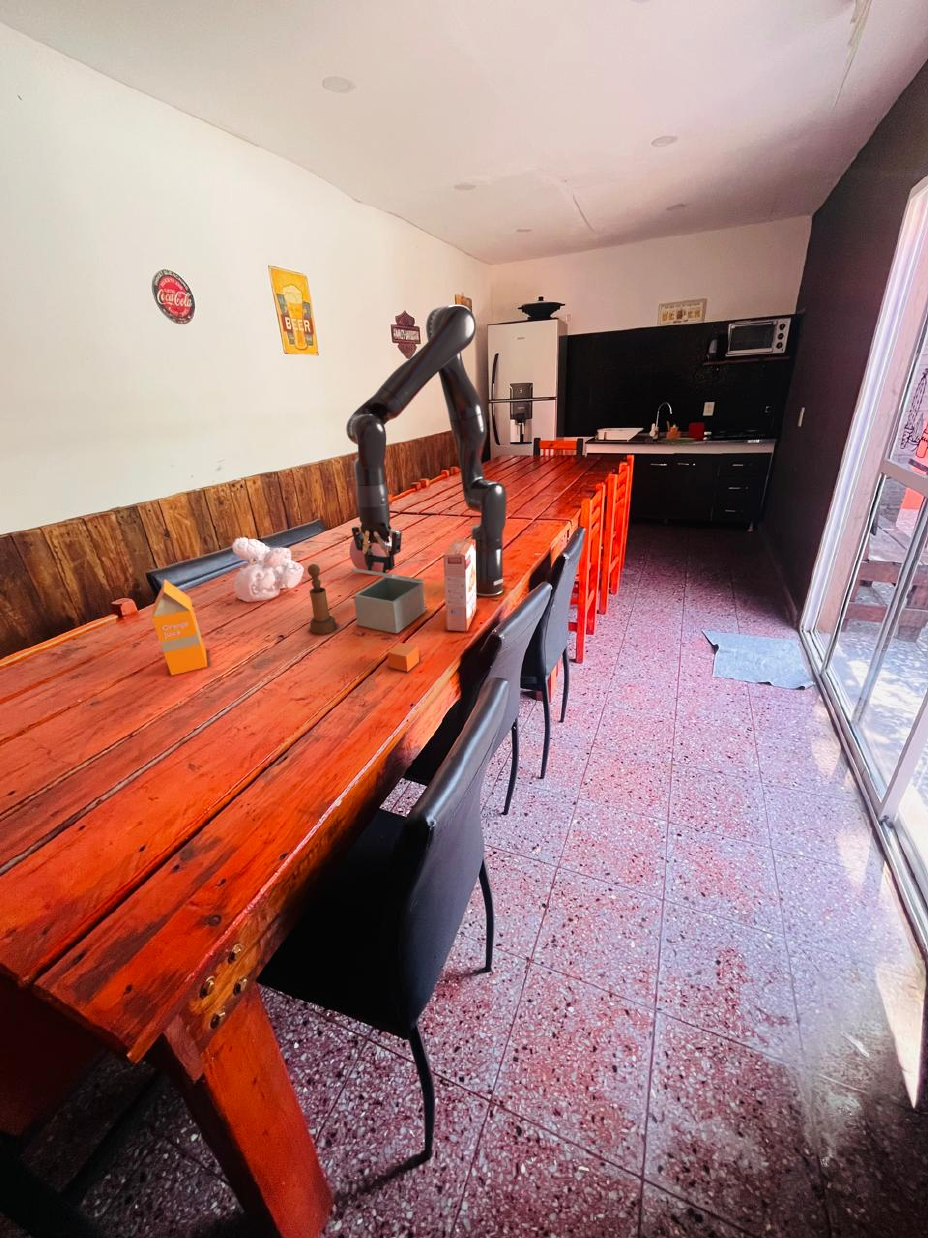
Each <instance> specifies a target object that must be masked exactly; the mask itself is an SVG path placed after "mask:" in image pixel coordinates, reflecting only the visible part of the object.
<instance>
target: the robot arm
mask: <svg viewBox="0 0 928 1238" xmlns="http://www.w3.org/2000/svg"><path fill="white" fill-rule="evenodd" d="M425 322H426V324H425V332H426V339H427V342H426V343H425V345H423V347H422V348H420V349H419V350H418V351H417V352H416V353H415V354H413V355H412V356H411V357H409V358H408V359H407V360H406V361H405V362H403V363H402V364H401V365H399V367H397V368H396V369H395V370H394V371H393V372H392V373H391V374H390V375H389V376H388V377H387V379H385V381H384V382H383V383H382V384H381V385H380V387H379V388H378V389H377V391H376V392H375V393H374V394H373V395H372V396H371V397H370V398H368V399H367V400H366V401H365V402H364V403H362V405H360V406H359V407H358V408H357V409H356V410H355V411H354V412H353V413H352V414H351V415H350V417H349V418H348V420H347V422H346V427H345V432H346V435H347V437H348V439H349V441H351V442H352V443H353V444H356V445H357V459H355V461H354V475H355V483H356V484H355V485H356V491H355V492H356V502H357V510H358V511H357V512H358V518H359V522H360V523H361V525H356V526H353V527H351V532H352V537H353V539H354V541H355V544H356V548H357V550H361V551H362V552H363V553H364V557H365V564H366V565H367V567H368V566H369V561H368V556H369V555H370V554H371V555H373V552H371V550H372V547H373V544H374V543H377V544H379V545H380V547H381V549H383V551H384V553H385V555H386V557H385V559H386V569H387V571H392V570H393V569H394V568H395V565H396V564H395V561H394V555H395V554H396V555H397V554H400V553H401V551H402V535H403V532H402V530H401V529H397V530H396V529H393V528H392V527H391V524H390V522H391V511H390V502H389V501H390V499H389V492H388V491H389V490H388V487H387V486H388V485H387V480H386V469H385V459H386V451H387V450H386V449H387V431H386V427H385V425H386V424H387V423H389V421H392V420H394V419H396V418H398V417H399V416H400V415H401V414H402V412H404V411H405V410H406V408H407V407H408V406H409V405H410V403H411V402H412V401H413V400H414V399H415V397H416V396H417V395H418V394H419V393H420V392H421V390H423V388H424V387H425V386H426V385H427V384H428V383H429V382H430V381H431V380H432V379H433V378H434V376H436V375H437V374H438V376H439V380H440V385H441V388H442V389H441V390H442V393H443V397H444V401H445V405H446V410H447V415H448V420H449V425H450V429H451V433H452V436H453V441H454V445H455V449H456V455H457V460H458V463H459V464H458V465H459V470H460V476H461V477H460V478H461V485H462V492H463V499H464V502H465V505H466V507H467V508H468V509H469V510H471V511H473V512H475V513H479V514H480V523H478V524H475V525H473V526H471V529H470V539H474V540H476V596H478V597H485V598H488V597H489V598H490V597H496V596H499V595H501V594H502V593H503V592H504V577H503V576H504V530H505V527H506V522H507V521H506V520H507V505H508V504H507V503H508V502H507V501H508V499H507V498H508V497H507V496H508V495H507V491H506V488H505V486H504V485H503V484H502V483H500V482H498V481H494V480H488V479H486V478H485V473H484V468H483V464H482V456H483V452H484V448H485V444H486V440H487V437H488V425H487V419H486V413H485V407H484V404H483V401H482V399H481V398H480V395H479V393H478V391H477V389H476V388H475V386H474V384H473V383H472V380H471V379H470V377H469V375H468V373H467V371H466V368H465V365H464V361H463V355H462V352H463V351H464V350H465V349H466V348H468V347H469V346H470V344H472V341H473V339H474V337H475V334H476V330H477V329H476V328H477V324H476V318H475V315H474V313H472V311H471V310H470V308H468V307H467V306H465V305H462V304H450V305H445V306H440V307H437V308H436V307H435V308H434V309H432V310H431V311H430V312H429V314H428V316H427V318H426V321H425ZM363 534H364V535H365V538H364V536H363ZM389 536H390V537H391V539H392V541H391V539H390V537H389ZM384 542H386V544H385V543H384ZM360 543H361V545H360ZM372 566H374V562H373V564H372Z"/></svg>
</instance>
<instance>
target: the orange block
mask: <svg viewBox="0 0 928 1238" xmlns="http://www.w3.org/2000/svg"><path fill="white" fill-rule="evenodd" d="M387 660H388V661H387V662H388V667H389V668H391V669H394V670H398V671H401V672H402V671H403V672H407V673H408V672H409V671H411V670H412V669H413V668H414V667H415V666H416V665H417V664H418V663H419V662H420V656H419V646H418V645H417V646H416V645H412V644H408V643H403V642H398V643H397V644H396V645H394V646H393V647H392V648H391V649H389V650H388V651H387Z"/></svg>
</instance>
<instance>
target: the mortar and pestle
mask: <svg viewBox="0 0 928 1238" xmlns="http://www.w3.org/2000/svg"><path fill="white" fill-rule="evenodd" d="M307 573H308V574H309V576H310V577H311V578H312V581H311V585H312V588H311V589H310V590H309V596H310V600H311V606H312V610H313V611H312V612H313V618H312V619H311V620H310V622H309V624H310V630H311V633H314V634H317V635H322V634H323V635H324V634H329V633H332V632H334V631H335V630H336V629H337V622H336V618H335V617H334V616H332V615H330V609H329V604H328V597H327V591H326V588H325V587H321V584H322V583H321V582H322V581H321V580H320V579H319V576H320V573H321V569H320V566H319V565H318V564H315V563H312V564H309V565H308V567H307Z"/></svg>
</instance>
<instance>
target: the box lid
mask: <svg viewBox="0 0 928 1238" xmlns="http://www.w3.org/2000/svg"><path fill="white" fill-rule="evenodd" d="M368 561H369V566H368V570H362V569H357V568H356V567H351V569H350V572H354V573H362V574H365V573H366V574H365V575H369V574H372V575H371V576H378V577H379V576H380V577H390V578H396V579H402V580H408V581H415V582H421V583H423V584H424V579H421V578H415V577H410V576H404V575H398V574H393V573H387V571H386V559H385V556H378V555H371V554H370V555H369V556H368ZM373 562H377V563H384V565H383V571H382V573H381V572H374V571H372V564H373Z"/></svg>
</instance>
